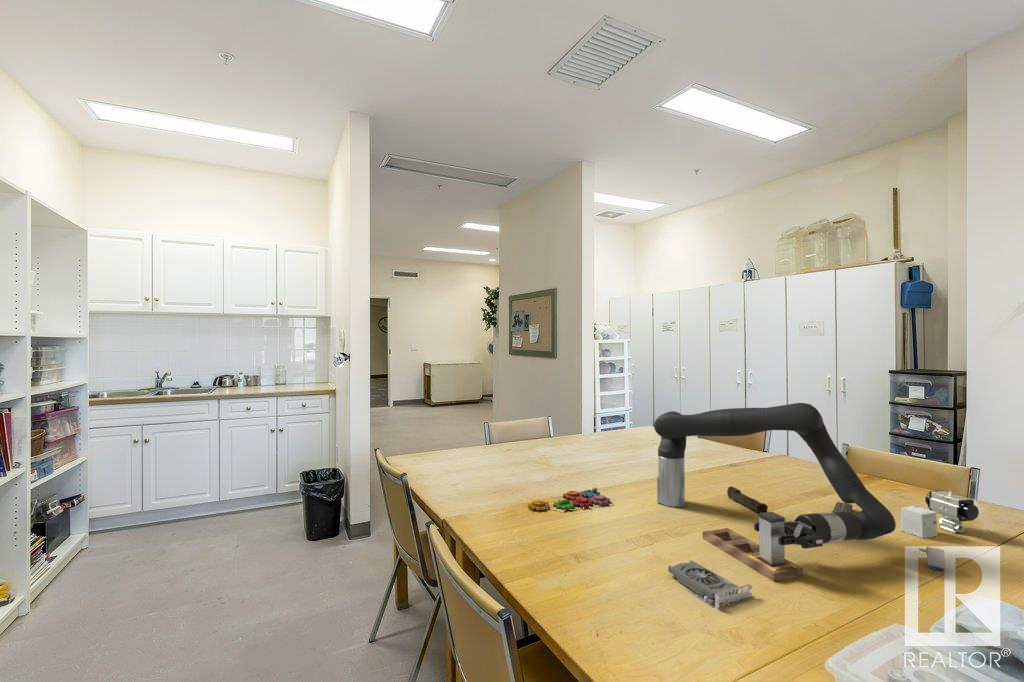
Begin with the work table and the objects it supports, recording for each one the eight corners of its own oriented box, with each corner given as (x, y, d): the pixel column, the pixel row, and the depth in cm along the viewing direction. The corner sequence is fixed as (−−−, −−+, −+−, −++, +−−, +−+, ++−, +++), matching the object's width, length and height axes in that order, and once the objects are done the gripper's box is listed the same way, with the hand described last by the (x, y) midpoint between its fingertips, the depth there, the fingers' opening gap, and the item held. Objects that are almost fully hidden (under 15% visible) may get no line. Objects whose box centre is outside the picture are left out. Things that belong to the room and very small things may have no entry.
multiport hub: (852, 511, 159) (852, 504, 159) (848, 523, 148) (848, 516, 148) (837, 508, 162) (837, 501, 162) (832, 520, 151) (832, 513, 151)
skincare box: (922, 539, 135) (922, 514, 135) (900, 531, 141) (900, 507, 141) (937, 536, 137) (937, 512, 137) (914, 528, 143) (914, 505, 143)
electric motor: (918, 559, 123) (918, 540, 123) (943, 564, 120) (942, 545, 120) (920, 569, 118) (919, 550, 118) (945, 575, 115) (945, 555, 115)
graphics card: (756, 585, 105) (717, 595, 101) (756, 601, 105) (717, 613, 101) (699, 555, 121) (664, 563, 116) (699, 569, 121) (663, 578, 116)
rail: (702, 538, 137) (702, 530, 137) (727, 534, 140) (727, 527, 140) (773, 581, 112) (773, 572, 112) (802, 576, 115) (802, 567, 115)
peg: (759, 566, 120) (758, 513, 120) (772, 564, 121) (772, 511, 121) (771, 574, 116) (770, 519, 116) (785, 572, 117) (784, 517, 117)
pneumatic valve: (937, 522, 147) (936, 485, 147) (979, 538, 136) (979, 497, 136) (922, 524, 146) (922, 486, 146) (964, 539, 135) (963, 498, 135)
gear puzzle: (535, 518, 156) (535, 506, 156) (519, 502, 171) (519, 491, 171) (615, 506, 166) (614, 495, 166) (593, 493, 181) (593, 482, 181)
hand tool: (768, 515, 155) (768, 501, 155) (757, 515, 155) (757, 502, 155) (734, 496, 174) (734, 484, 174) (724, 497, 174) (724, 485, 174)
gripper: (798, 504, 128) (747, 509, 125) (844, 524, 114) (788, 530, 111) (798, 531, 128) (747, 536, 125) (844, 554, 114) (788, 561, 111)
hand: (766, 533), depth 118 cm, fingers open, 8 cm apart
